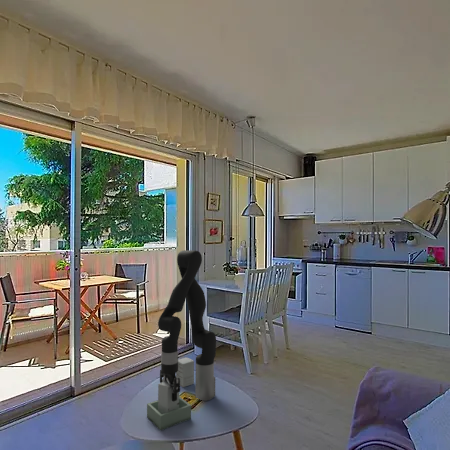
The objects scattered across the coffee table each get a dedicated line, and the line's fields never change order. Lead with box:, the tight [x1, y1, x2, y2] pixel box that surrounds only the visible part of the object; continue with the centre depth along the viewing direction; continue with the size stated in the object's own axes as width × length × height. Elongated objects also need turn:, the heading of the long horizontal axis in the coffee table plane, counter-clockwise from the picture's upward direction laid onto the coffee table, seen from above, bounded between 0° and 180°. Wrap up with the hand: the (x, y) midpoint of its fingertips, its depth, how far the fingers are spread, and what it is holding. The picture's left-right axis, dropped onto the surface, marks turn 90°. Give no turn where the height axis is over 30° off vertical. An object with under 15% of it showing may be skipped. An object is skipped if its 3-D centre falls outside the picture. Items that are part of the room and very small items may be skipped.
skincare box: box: [157, 381, 180, 414], centre depth 154 cm, size 8×6×15 cm
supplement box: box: [176, 357, 195, 388], centre depth 189 cm, size 7×7×13 cm
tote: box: [146, 396, 192, 432], centre depth 154 cm, size 15×13×6 cm
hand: (169, 397), depth 154 cm, fingers open, 8 cm apart
